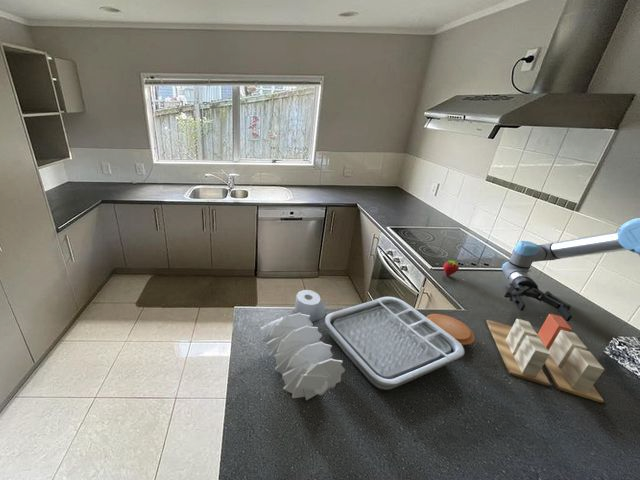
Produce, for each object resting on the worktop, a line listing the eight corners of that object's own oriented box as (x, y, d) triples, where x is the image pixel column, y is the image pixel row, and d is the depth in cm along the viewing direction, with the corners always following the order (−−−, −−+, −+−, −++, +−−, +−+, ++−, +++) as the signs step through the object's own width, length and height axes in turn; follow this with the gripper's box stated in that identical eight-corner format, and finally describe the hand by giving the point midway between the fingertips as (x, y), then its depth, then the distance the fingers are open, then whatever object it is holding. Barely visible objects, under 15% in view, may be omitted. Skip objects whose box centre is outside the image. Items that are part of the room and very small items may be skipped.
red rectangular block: (537, 334, 105) (549, 313, 101) (549, 337, 104) (561, 316, 100) (545, 347, 99) (558, 326, 95) (558, 351, 98) (572, 329, 94)
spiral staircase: (291, 349, 101) (331, 413, 79) (250, 343, 93) (281, 413, 71) (314, 307, 98) (362, 362, 76) (273, 297, 90) (313, 355, 68)
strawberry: (458, 277, 142) (464, 260, 138) (448, 280, 139) (455, 263, 135) (446, 271, 147) (452, 254, 143) (437, 274, 144) (443, 257, 140)
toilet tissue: (330, 315, 113) (333, 298, 109) (303, 325, 107) (305, 307, 104) (316, 302, 120) (318, 285, 117) (290, 310, 114) (291, 293, 111)
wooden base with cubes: (486, 321, 112) (496, 299, 108) (517, 329, 109) (528, 307, 104) (509, 374, 90) (523, 348, 86) (549, 386, 86) (566, 360, 82)
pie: (477, 357, 96) (483, 346, 94) (427, 344, 100) (430, 333, 98) (464, 327, 109) (468, 317, 107) (419, 316, 114) (423, 306, 112)
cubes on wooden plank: (523, 331, 108) (535, 308, 104) (557, 340, 104) (571, 317, 100) (557, 389, 86) (575, 363, 81) (602, 403, 82) (623, 376, 78)
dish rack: (316, 330, 105) (318, 313, 102) (389, 308, 118) (394, 292, 115) (378, 408, 78) (384, 389, 75) (465, 369, 91) (473, 351, 88)
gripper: (556, 298, 121) (584, 331, 103) (486, 283, 130) (501, 310, 112) (564, 284, 118) (595, 315, 100) (492, 269, 127) (508, 295, 109)
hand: (545, 313), depth 106 cm, fingers open, 13 cm apart
